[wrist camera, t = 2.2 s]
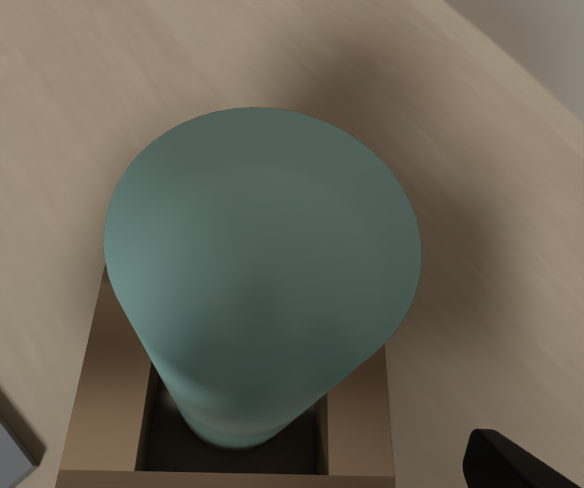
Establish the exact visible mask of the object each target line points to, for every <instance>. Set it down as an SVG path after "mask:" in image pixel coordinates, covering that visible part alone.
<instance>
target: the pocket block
mask: <svg viewBox="0 0 584 488" xmlns="http://www.w3.org/2000/svg"><path fill="white" fill-rule="evenodd" d="M158 381H159V373H158V371H157V369H156V368H155V366H154V364H153V362H152V360H151V359H150V357H149V355H148V353H147V351H146V350H145V348H144V346H143V344H142V342H141V341H140V339H139V337H138V335H137V333H136V332H135V330H134V328H133V326H132V324H131V323H130V321H129V319H128V317H127V315H126V313H125V312H124V310H123V308H122V306H121V304H120V303H119V301H118V299H117V297H116V295H115V292H114V290H113V287H112V284H111V282H110V279H109V276H108V271H107V266H106V264H105V268H104V272H103V277H102V281H101V286H100V290H99V295H98V299H97V304H96V308H95V313H94V317H93V321H92V326H91V330H90V335H89V339H88V344H87V348H86V353H85V357H84V362H83V366H82V370H81V375H80V379H79V384H78V388H77V393H76V397H75V402H74V406H73V410H72V415H71V419H70V424H69V428H68V433H67V437H66V442H65V446H64V451H63V455H62V459H61V464H60V468H59V473H58V477H57V482H56V486H55V488H395V477H394V464H393V451H392V438H391V425H390V412H389V399H388V386H387V373H386V360H385V348H384V344H383V345H382V346H381V347H380V348H379V349H378V350H377V351H376V352H375V353H374V354H373V355H372V356H370V357H369V358H368V359H367V360H366V361H364V362H363V363H362V364H361V365H360V366H358V367H357V368H356V369H355V370H354V371H352V372H351V373H350V374H349V375H348V376H346V377H345V378H344V379H343V380H342V381H340V382H339V383H338V384H337V385H336V386H334V387H333V388H332V389H331V390H330V391H328V392H327V393H326V394H325V395H324V396H322V397H321V398H320V399H319V400H317V401H316V402H315V475H294V474H246V473H197V472H149V471H145V470H146V463H147V456H148V449H149V443H150V436H151V429H152V422H153V415H154V408H155V402H156V395H157V388H158Z"/></svg>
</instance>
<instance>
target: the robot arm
mask: <svg viewBox="0 0 584 488" xmlns="http://www.w3.org/2000/svg"><path fill="white" fill-rule="evenodd" d="M463 473H464V477H465V480H466V483H467V486H468V488H581V487H579V486H578V485H576V484H575V483H573V482H572V481H570V480H569V479H567V478H566V477H564V476H563V475H561V474H560V473H558V472H557V471H555V470H554V469H553V468H551V467H550V466H548V465H547V464H545V463H544V462H542V461H541V460H539V459H538V458H536V457H535V456H533V455H532V454H530V453H529V452H527V451H526V450H524V449H523V448H521V447H520V446H518V445H517V444H515V443H514V442H512V441H511V440H509V439H508V438H506V437H505V436H503V435H502V434H500V433H499V432H497V431H496V430H493V429H474V430H473V431H472V432H471V434H470V437H469V441H468V445H467V448H466V452H465V455H464V459H463Z"/></svg>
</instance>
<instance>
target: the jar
mask: <svg viewBox="0 0 584 488" xmlns="http://www.w3.org/2000/svg"><path fill="white" fill-rule="evenodd" d="M104 256H105V261H106V266H107V271H108V276H109V279H110V282H111V284H112V287H113V290H114V292H115V295H116V297H117V299H118V301H119V303H120V304H121V306H122V308H123V310H124V312H125V313H126V315H127V317H128V319H129V321H130V323H131V324H132V326H133V328H134V330H135V332H136V333H137V335H138V337H139V339H140V341H141V342H142V344H143V346H144V348H145V350H146V351H147V353H148V355H149V357H150V359H151V360H152V362H153V364H154V366H155V368H156V369H157V371H158V373H159V375H160V377H161V378H162V380H163V382H164V384H165V386H166V387H167V389H168V391H169V393H170V395H171V396H172V398H173V400H174V402H175V404H176V406H177V407H178V409H179V411H180V413H181V415H182V416H183V418H184V420H185V422H186V424H187V425H188V427H189V428H190V429H191V431H192V432H193V433H194V434H195V435H196V436H197V437H198V438H199V439H201V440H202V441H203V442H205V443H207V444H209V445H210V446H212V447H215V448H218V449H221V450H226V451H244V450H249V449H253V448H255V447H258V446H260V445H262V444H264V443H266V442H267V441H269V440H270V439H272V438H273V437H274V436H275V435H277V434H278V433H279V432H280V431H281V430H283V429H284V428H285V427H286V426H287V425H289V424H290V423H291V422H292V421H293V420H295V419H296V418H297V417H298V416H299V415H301V414H302V413H303V412H304V411H305V410H307V409H308V408H309V407H310V406H311V405H313V404H314V403H315V402H316V401H317V400H319V399H320V398H321V397H322V396H324V395H325V394H326V393H327V392H328V391H330V390H331V389H332V388H333V387H334V386H336V385H337V384H338V383H339V382H340V381H342V380H343V379H344V378H345V377H346V376H348V375H349V374H350V373H351V372H352V371H354V370H355V369H356V368H357V367H358V366H360V365H361V364H362V363H363V362H364V361H366V360H367V359H368V358H369V357H370V356H372V355H373V354H374V353H375V352H376V351H377V350H378V349H379V348H380V347H381V346H382V345H383V344H384V343H385V342H387V341H388V340H389V339H390V337H391V336H392V335H393V333H394V332H395V331H396V329H397V328H398V327H399V325H400V324H401V323H402V321H403V319H404V317H405V316H406V314H407V312H408V310H409V308H410V306H411V304H412V301H413V298H414V296H415V293H416V290H417V287H418V282H419V277H420V272H421V256H422V250H421V240H420V232H419V228H418V224H417V220H416V216H415V214H414V211H413V208H412V206H411V203H410V201H409V199H408V197H407V195H406V193H405V191H404V189H403V187H402V186H401V184H400V183H399V181H398V180H397V178H396V177H395V176H394V174H393V173H392V171H391V170H390V169H389V168H388V167H387V166H386V164H385V163H384V162H383V161H382V160H381V159H380V158H379V157H378V156H377V155H376V154H375V153H374V152H373V151H371V150H370V149H369V148H368V147H367V146H366V145H364V144H363V143H361V142H360V141H359V140H357V139H356V138H355V137H353V136H352V135H350V134H348V133H347V132H345V131H343V130H341V129H340V128H338V127H336V126H334V125H331V124H329V123H327V122H325V121H323V120H320V119H317V118H314V117H311V116H308V115H305V114H301V113H297V112H293V111H289V110H282V109H274V108H258V107H249V108H234V109H228V110H222V111H217V112H213V113H209V114H206V115H202V116H199V117H197V118H194V119H191V120H189V121H186V122H184V123H182V124H180V125H178V126H176V127H175V128H173V129H171V130H169V131H167V132H166V133H164V134H163V135H162V136H160V137H159V138H157V139H156V140H154V141H153V142H152V143H151V144H150V145H149V146H147V147H146V148H145V149H144V150H143V151H142V152H141V153H140V154H139V155H138V156H137V157H136V159H135V160H134V161H133V162H132V163H131V164H130V166H129V167H128V168H127V170H126V171H125V173H124V175H123V176H122V178H121V179H120V181H119V183H118V185H117V187H116V189H115V191H114V194H113V196H112V198H111V201H110V204H109V208H108V212H107V215H106V221H105V229H104Z"/></svg>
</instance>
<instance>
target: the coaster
mask: <svg viewBox="0 0 584 488" xmlns="http://www.w3.org/2000/svg"><path fill="white" fill-rule="evenodd" d="M38 467H39V466H38V465H37V464H36V462H35V461H34V460H33V458H32V457H31V456H30V454H29V453H28V452H27V450H26V449H25V448H24V446H23V445H22V444H21V443H20V441H19V440H18V439H17V437H16V436H15V435H14V433H13V432H12V431H11V429H10V428H9V427H8V425H7V424H6V423H5V421H4V420H3V419H2V417H1V416H0V488H15V487H16V486H17V485H18V484H19V483H20V482H21V481H23V480H24V479H25V478H26V477H27V476H28V475H29V474H31V473H32V472H33V471H34V470H35V469H36V468H38Z"/></svg>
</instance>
